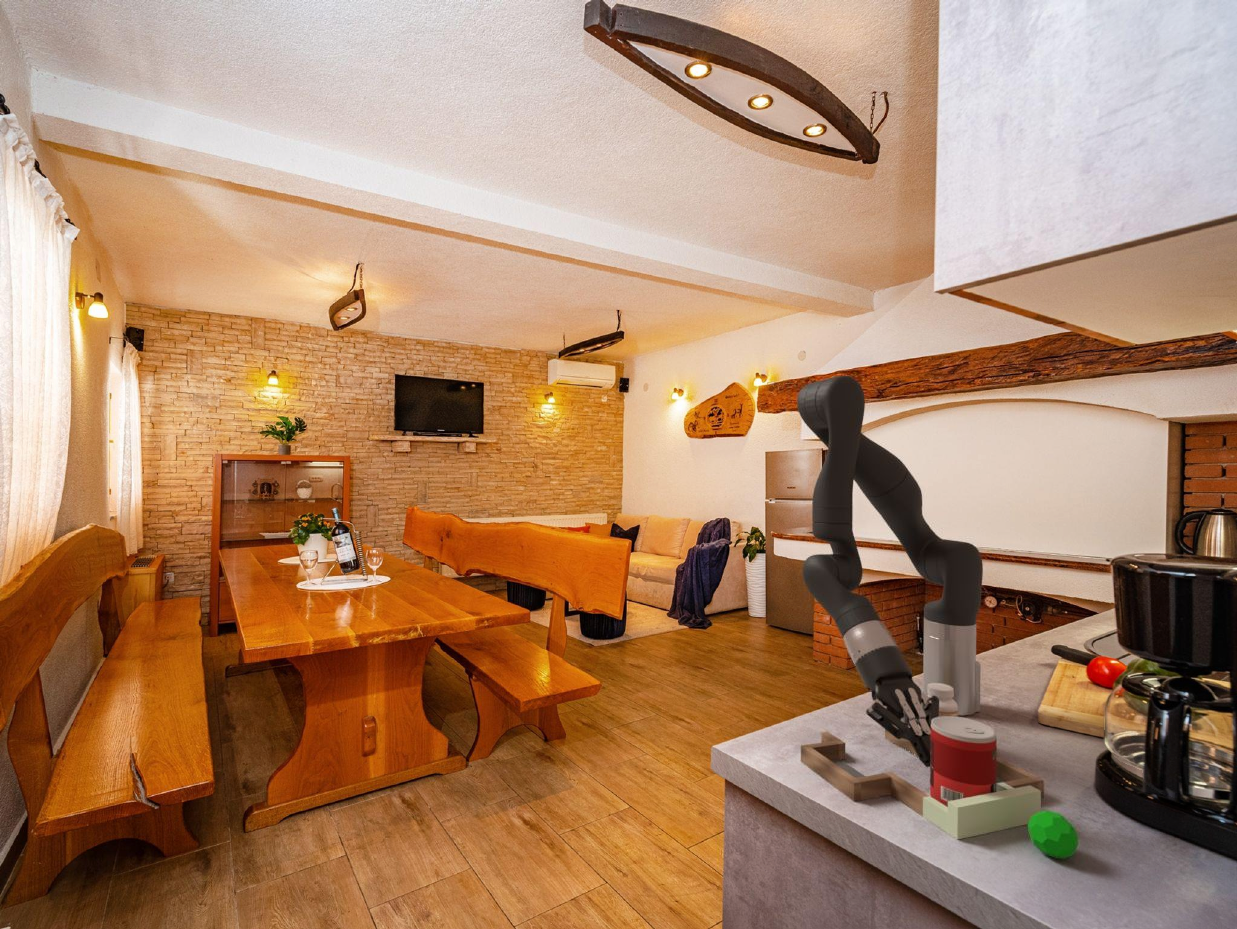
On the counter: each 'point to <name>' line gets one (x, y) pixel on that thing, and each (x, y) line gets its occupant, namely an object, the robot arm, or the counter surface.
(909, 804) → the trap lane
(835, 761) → the mats
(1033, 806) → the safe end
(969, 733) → the canned food
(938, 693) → the supplement bottle
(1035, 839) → the polyhedron
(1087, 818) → the counter surface
